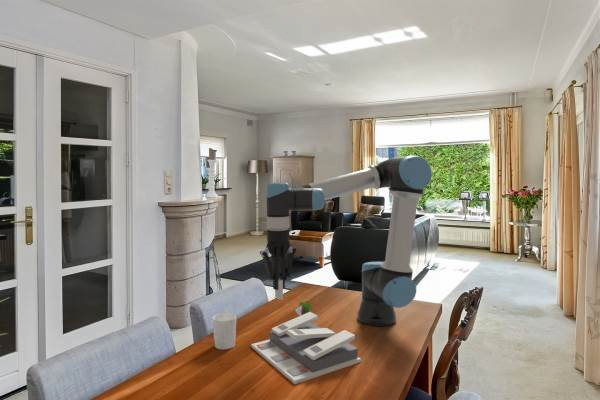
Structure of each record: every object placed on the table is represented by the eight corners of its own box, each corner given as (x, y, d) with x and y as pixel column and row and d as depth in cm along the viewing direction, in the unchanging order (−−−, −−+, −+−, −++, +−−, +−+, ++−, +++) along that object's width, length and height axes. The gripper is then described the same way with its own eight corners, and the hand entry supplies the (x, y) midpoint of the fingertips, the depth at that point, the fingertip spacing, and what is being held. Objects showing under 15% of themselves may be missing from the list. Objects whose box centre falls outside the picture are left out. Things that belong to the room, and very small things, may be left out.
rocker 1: (310, 314, 142) (309, 311, 142) (318, 318, 138) (317, 315, 138) (272, 331, 134) (271, 328, 134) (279, 336, 130) (278, 333, 129)
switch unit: (310, 331, 144) (310, 321, 144) (361, 361, 121) (361, 349, 120) (251, 347, 132) (251, 335, 131) (294, 384, 108) (294, 370, 108)
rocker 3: (345, 333, 125) (344, 329, 125) (355, 338, 121) (354, 334, 121) (303, 353, 117) (303, 349, 117) (313, 360, 113) (312, 356, 113)
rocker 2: (326, 331, 134) (326, 327, 134) (335, 336, 129) (335, 332, 129) (286, 333, 125) (286, 329, 125) (294, 339, 121) (295, 335, 121)
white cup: (231, 351, 128) (231, 321, 128) (209, 349, 130) (208, 320, 129) (240, 341, 136) (239, 313, 135) (218, 339, 138) (218, 311, 137)
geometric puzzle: (300, 308, 163) (296, 297, 158) (316, 310, 161) (312, 298, 156) (296, 323, 158) (291, 312, 153) (312, 325, 156) (308, 314, 151)
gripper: (289, 226, 137) (290, 292, 138) (255, 229, 130) (256, 299, 131) (300, 228, 131) (301, 298, 132) (265, 231, 124) (266, 305, 125)
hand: (279, 298), depth 132 cm, fingers closed
